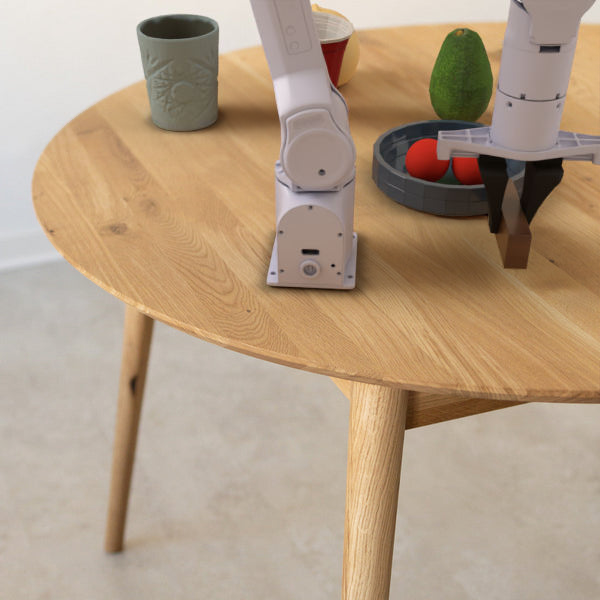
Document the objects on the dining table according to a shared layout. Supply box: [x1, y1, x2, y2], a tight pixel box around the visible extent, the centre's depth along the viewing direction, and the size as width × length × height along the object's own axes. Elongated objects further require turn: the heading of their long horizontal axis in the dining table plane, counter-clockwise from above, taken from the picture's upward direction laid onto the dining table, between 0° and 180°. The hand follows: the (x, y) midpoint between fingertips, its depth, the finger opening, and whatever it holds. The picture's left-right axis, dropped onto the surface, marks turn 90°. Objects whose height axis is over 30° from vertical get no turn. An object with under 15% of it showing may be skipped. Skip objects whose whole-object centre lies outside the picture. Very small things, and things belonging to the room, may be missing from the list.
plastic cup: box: [313, 11, 356, 90], centre depth 100 cm, size 11×11×12 cm
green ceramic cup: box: [135, 13, 220, 132], centre depth 98 cm, size 10×10×12 cm
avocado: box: [428, 27, 494, 122], centre depth 97 cm, size 8×8×12 cm
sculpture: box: [311, 3, 360, 87], centre depth 109 cm, size 11×12×11 cm
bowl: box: [371, 119, 526, 217], centre depth 86 cm, size 17×17×4 cm
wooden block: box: [494, 179, 533, 270], centre depth 73 cm, size 12×2×3 cm, turn 175°
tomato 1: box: [405, 139, 450, 182], centre depth 85 cm, size 5×5×5 cm
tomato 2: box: [452, 157, 483, 186], centre depth 84 cm, size 5×5×5 cm
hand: (507, 228), depth 73 cm, fingers closed on wooden block, 2 cm apart
